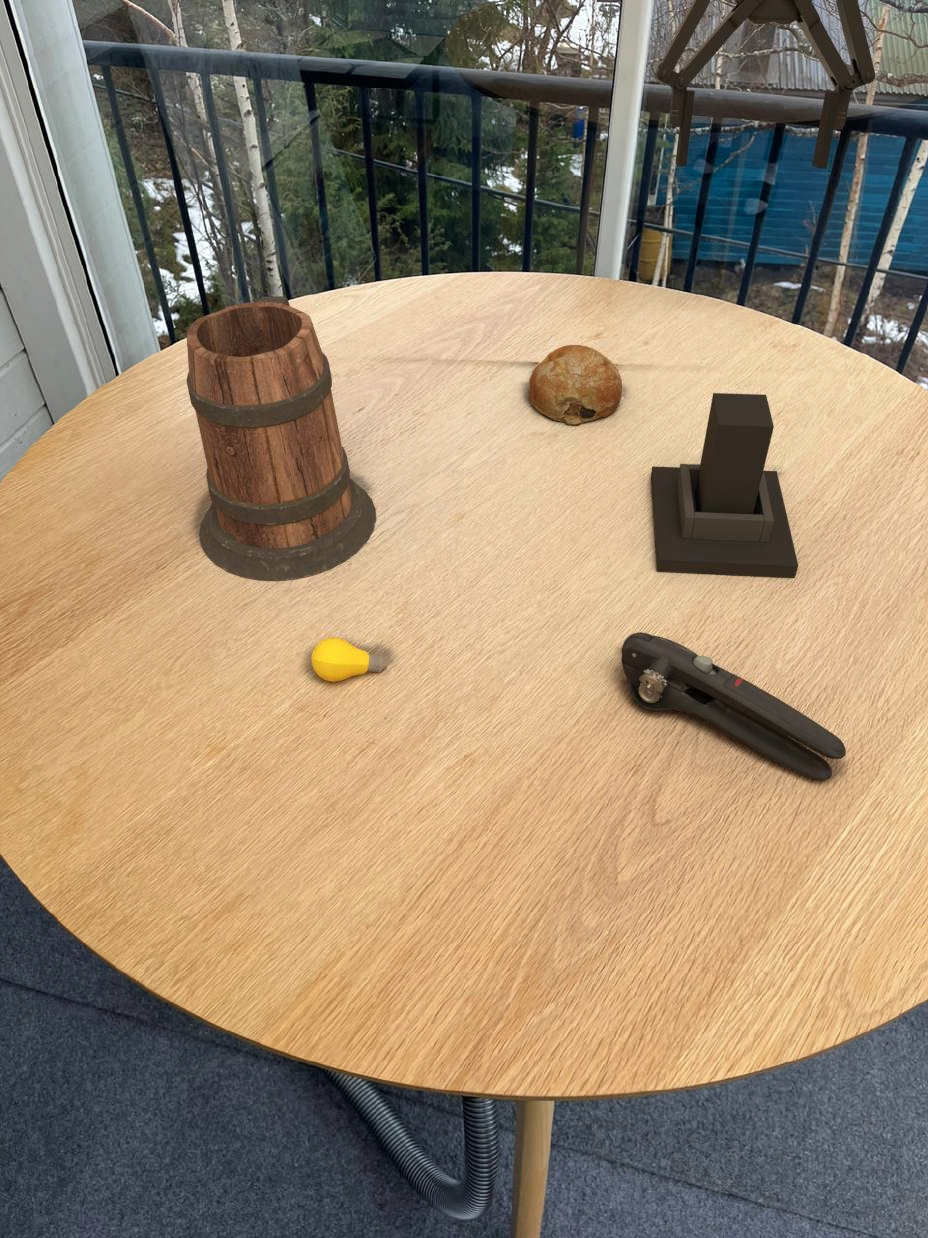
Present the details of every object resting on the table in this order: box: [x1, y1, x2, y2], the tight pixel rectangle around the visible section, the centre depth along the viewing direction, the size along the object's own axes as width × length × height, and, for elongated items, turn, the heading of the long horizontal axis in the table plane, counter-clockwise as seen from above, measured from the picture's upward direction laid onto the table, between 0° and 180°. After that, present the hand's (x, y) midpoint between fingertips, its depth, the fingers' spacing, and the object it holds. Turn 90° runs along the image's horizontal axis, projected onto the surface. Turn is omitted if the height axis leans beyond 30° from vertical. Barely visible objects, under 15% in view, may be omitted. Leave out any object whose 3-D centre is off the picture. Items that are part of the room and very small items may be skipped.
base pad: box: [650, 463, 799, 579], centre depth 86 cm, size 12×14×4 cm
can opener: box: [620, 631, 847, 781], centre depth 69 cm, size 18×7×6 cm, turn 50°
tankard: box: [186, 295, 377, 582], centre depth 85 cm, size 24×17×20 cm
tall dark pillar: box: [695, 392, 775, 514], centre depth 83 cm, size 4×5×11 cm
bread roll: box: [528, 344, 623, 426], centre depth 102 cm, size 10×10×8 cm
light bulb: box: [311, 636, 388, 682], centre depth 75 cm, size 3×6×4 cm, turn 96°
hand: (749, 166), depth 94 cm, fingers open, 13 cm apart
